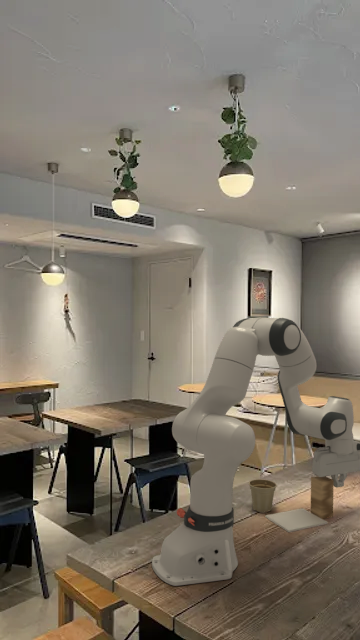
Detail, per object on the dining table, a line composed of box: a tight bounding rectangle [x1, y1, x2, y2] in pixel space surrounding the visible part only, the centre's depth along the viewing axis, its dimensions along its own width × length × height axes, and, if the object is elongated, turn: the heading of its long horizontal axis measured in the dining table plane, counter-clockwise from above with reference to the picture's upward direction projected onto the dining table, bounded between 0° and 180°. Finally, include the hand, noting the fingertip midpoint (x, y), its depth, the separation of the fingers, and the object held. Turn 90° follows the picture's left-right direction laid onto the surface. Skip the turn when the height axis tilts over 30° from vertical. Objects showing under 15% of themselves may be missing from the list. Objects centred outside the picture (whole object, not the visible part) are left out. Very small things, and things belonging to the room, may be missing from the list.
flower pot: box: [248, 478, 278, 513], centre depth 163 cm, size 9×9×9 cm
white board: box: [265, 507, 329, 533], centre depth 154 cm, size 15×12×1 cm
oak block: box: [310, 475, 334, 520], centre depth 158 cm, size 5×5×12 cm
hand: (338, 486), depth 161 cm, fingers closed
